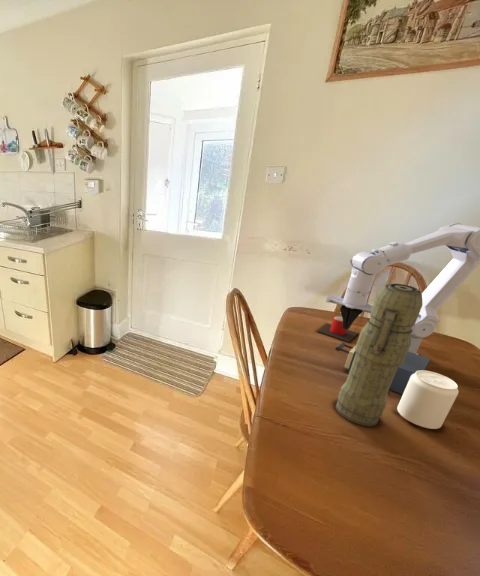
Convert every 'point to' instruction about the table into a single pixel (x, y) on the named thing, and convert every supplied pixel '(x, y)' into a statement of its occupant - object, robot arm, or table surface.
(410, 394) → the white cylinder
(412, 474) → the table surface
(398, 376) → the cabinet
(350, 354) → the drawer
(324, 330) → the dark brown flat plate
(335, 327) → the red can
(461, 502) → the table surface
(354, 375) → the thermos
